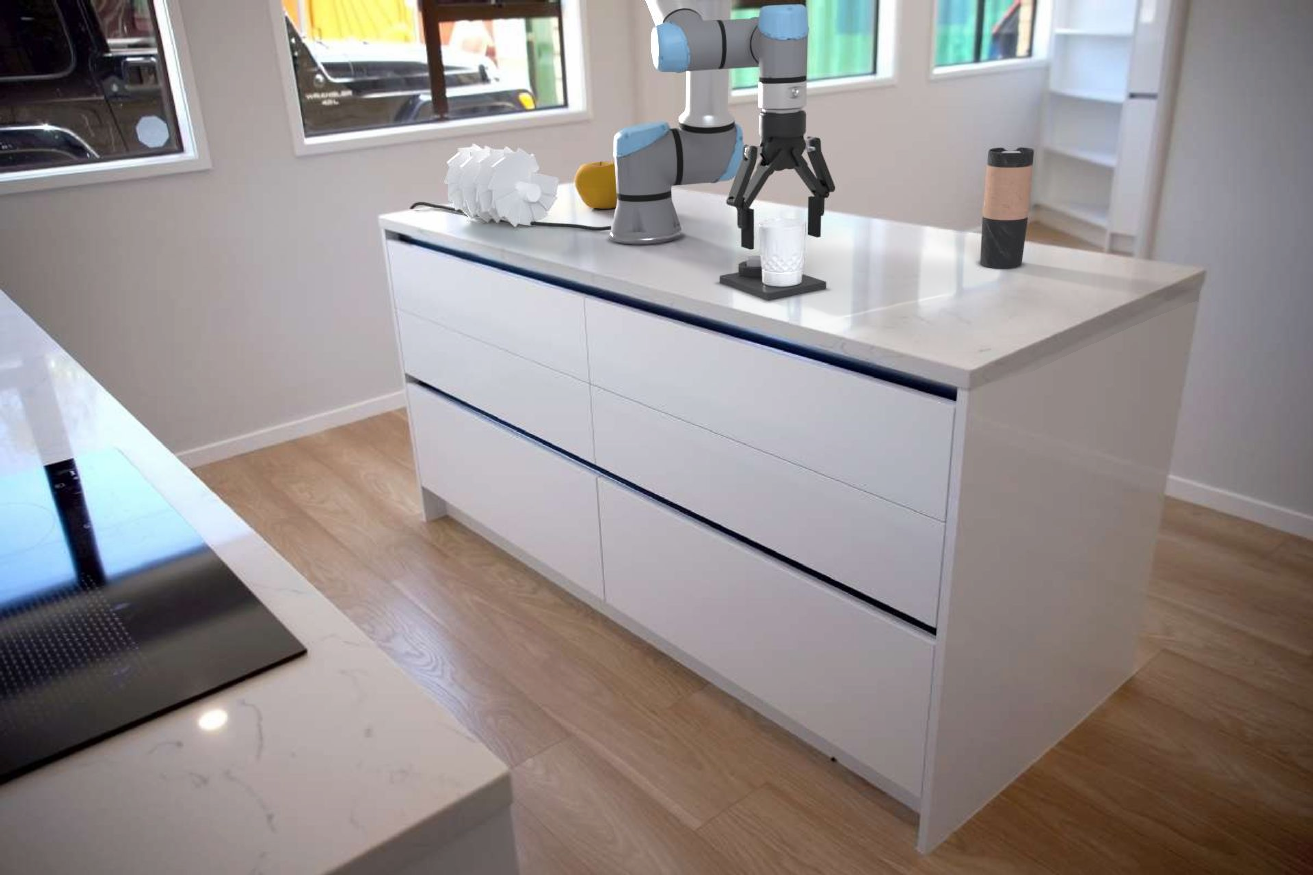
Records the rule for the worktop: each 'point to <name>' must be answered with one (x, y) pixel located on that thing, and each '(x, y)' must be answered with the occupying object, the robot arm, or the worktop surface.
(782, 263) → the white cup
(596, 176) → the apple
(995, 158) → the travel mug
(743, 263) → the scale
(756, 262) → the button
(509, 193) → the spiral staircase
